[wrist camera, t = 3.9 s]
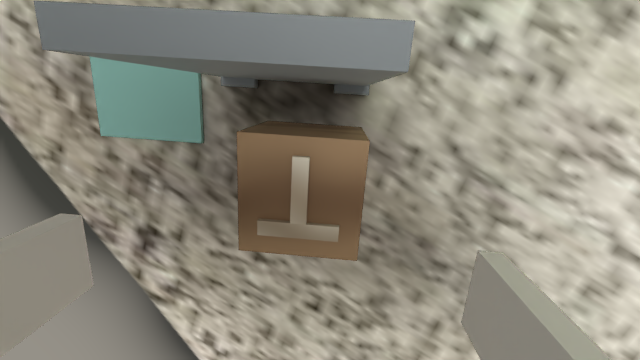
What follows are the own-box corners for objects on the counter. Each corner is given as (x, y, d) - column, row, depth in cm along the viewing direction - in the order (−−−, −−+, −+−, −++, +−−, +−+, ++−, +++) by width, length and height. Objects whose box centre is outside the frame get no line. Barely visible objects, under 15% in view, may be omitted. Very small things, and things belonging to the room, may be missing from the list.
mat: (89, 23, 21) (84, 21, 21) (198, 29, 21) (195, 27, 21) (104, 135, 24) (100, 135, 23) (203, 142, 23) (201, 143, 23)
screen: (224, 50, 21) (21, -26, 8) (371, 59, 21) (426, -6, 7) (225, 86, 22) (39, 71, 8) (367, 95, 21) (412, 96, 8)
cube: (268, 120, 22) (234, 132, 15) (361, 127, 22) (370, 141, 15) (267, 207, 24) (237, 252, 17) (352, 214, 24) (357, 263, 17)
